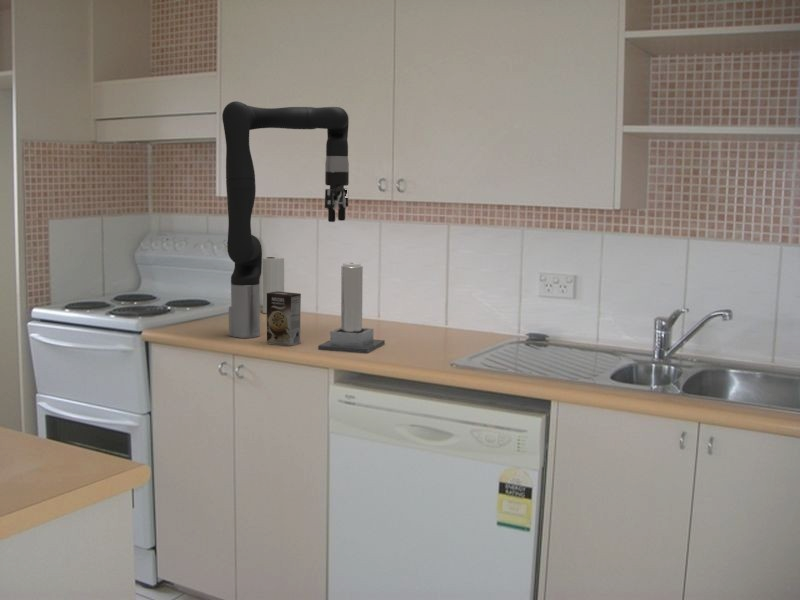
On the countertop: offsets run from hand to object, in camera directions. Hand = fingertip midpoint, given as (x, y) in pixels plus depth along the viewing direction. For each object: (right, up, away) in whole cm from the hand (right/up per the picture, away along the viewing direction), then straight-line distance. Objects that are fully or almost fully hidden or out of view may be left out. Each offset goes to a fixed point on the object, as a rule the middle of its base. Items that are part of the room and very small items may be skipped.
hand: (336, 221), depth 290 cm
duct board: (+6, -40, -11) cm, 42 cm away
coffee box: (-16, -40, -7) cm, 43 cm away
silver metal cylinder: (+5, -39, -11) cm, 41 cm away
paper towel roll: (-28, -31, +52) cm, 67 cm away
